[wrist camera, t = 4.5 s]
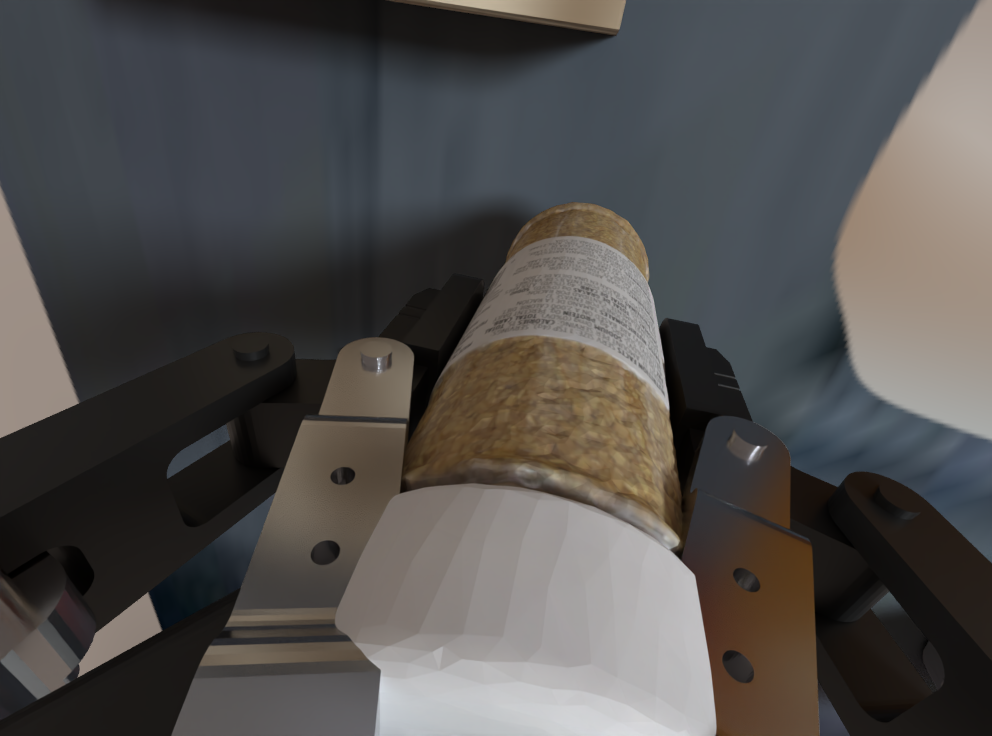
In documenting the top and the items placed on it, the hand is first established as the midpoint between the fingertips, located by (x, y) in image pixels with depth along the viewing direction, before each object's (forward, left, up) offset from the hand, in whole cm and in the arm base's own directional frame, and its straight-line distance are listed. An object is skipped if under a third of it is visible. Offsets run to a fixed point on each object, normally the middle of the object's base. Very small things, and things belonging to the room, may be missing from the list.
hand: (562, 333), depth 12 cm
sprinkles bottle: (0, 0, -5) cm, 5 cm away
